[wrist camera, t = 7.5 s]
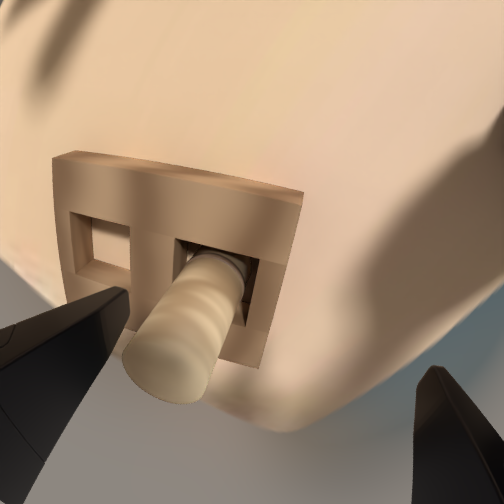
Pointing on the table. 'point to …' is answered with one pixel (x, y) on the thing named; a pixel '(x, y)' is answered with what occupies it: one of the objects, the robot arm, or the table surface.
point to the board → (173, 234)
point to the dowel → (188, 327)
